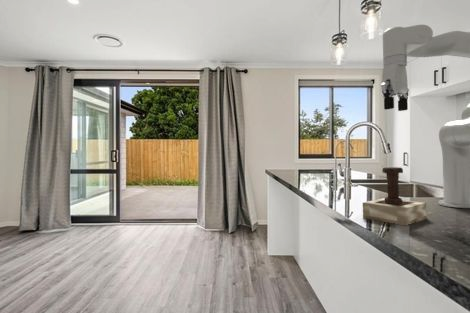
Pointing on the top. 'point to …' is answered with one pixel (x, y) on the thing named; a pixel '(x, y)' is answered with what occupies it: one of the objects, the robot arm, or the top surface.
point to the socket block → (395, 211)
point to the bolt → (393, 185)
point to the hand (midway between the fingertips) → (396, 109)
